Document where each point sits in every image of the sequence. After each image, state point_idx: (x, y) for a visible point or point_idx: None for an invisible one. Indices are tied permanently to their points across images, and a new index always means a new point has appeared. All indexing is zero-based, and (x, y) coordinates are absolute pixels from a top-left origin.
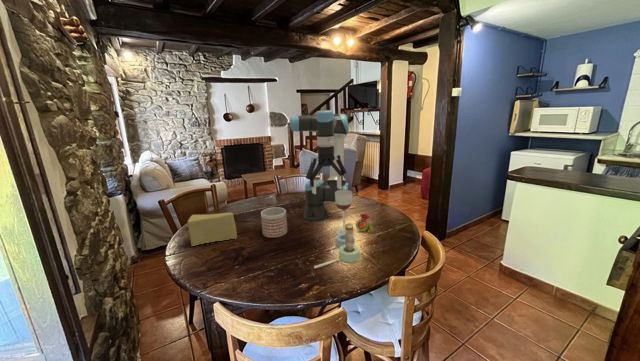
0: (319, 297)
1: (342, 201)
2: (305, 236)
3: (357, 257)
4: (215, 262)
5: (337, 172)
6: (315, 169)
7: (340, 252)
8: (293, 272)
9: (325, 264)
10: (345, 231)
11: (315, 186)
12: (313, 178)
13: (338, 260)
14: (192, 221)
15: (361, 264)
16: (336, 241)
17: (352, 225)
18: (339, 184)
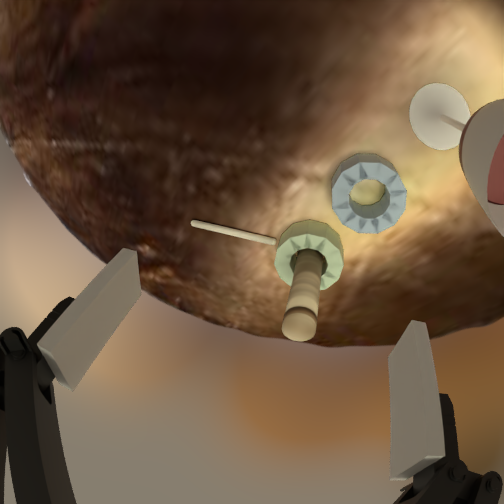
0: (159, 293)
1: (475, 195)
2: (287, 23)
3: None
4: (25, 53)
5: (413, 498)
6: (20, 474)
7: (276, 254)
8: (142, 198)
9: (224, 233)
10: (287, 304)
11: (103, 341)
12: (44, 395)
13: (269, 243)
14: None
15: None
16: (336, 176)
17: (304, 339)
18: (395, 388)
